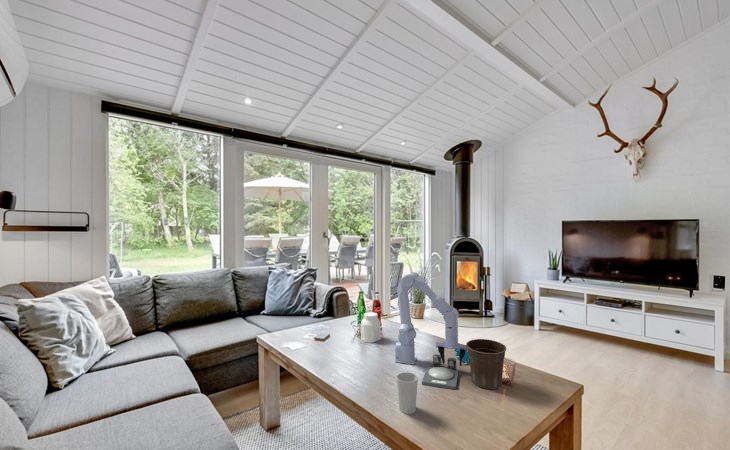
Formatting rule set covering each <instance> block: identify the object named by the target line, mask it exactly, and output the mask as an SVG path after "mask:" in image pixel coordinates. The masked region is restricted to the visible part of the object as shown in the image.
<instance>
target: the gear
mask: <svg viewBox="0 0 730 450" xmlns="http://www.w3.org/2000/svg"><path fill="white" fill-rule="evenodd" d="M453 351H454V352H455V356H456V360H459V361H460V350H459V349H453ZM462 364H466V365H470V358H469V354H468V351H466V352H465V355H464V357H463V359H462Z"/></svg>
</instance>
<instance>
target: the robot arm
mask: <svg viewBox="0 0 730 450" xmlns="http://www.w3.org/2000/svg"><path fill="white" fill-rule="evenodd" d="M411 289H415V290H416V289H417V290H420V291H421V292H422V293H423V294H425V296H427V298H429V300H431V302H432V306H433V307H434V308H435V309H436V310H437V311H438V312H439V313H440V314H441V315H442V316H443V317H442V318H443V320H444V321H445V325H444V326H445V328H444V329H445V330H444V331H445V341H442V342H441V341H436V343H435V348H437V351H438V354H439V355H441V358H442V364H443V365H444V364H445V363H446V359H445V349H450V350H455V349H459V350H460V360H459V367H462V364H463V362H462V361H463V357H464V355H465V352H466V351H468V348H467V346H466V344H463V343H459V325H458V323H459V322H458V319H459V317H460V312H459V311H458V309H457V308H456V307H453V306H452V305H450V304H449V302H447V301H446V298H445V297H442V296H441V295H440V296H439V295H437V294H436V293H435V292H434V290H433V289H432V288H431V287H430V285H428V283H426V281H425V280H424V279H423V277H422V276H420V275H419V273H417V272H415V271H412V272H410V273H407V274H405V275H403V276H402V277H401V278H400V279H399V283H398V286H397V288H396V291H397V293H396V294H397V300H398V301H397V302H398V310H399V321H400V325H399V329H398V336H397V340H398V341H396V343H395V349H394V351H395V355H394V357H395V360H394V362H395V363H400V364H407V365H414V364H416V360H417V359H418V357H416V355H415V354H416V353H415V352H416V351H415V348H416V347H415V346H416V344H415V338H416V337H417V332H416V330H415V327H414V324H413V323H412V317H411V307H410V297H409V291H410V290H411Z"/></svg>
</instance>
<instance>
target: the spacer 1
mask: <svg viewBox="0 0 730 450" xmlns="http://www.w3.org/2000/svg"><path fill="white" fill-rule="evenodd" d="M442 364H443V362H442V358H441V355H440V354H439V353H438V354H436V353H435V354H433V355H432V367H443V365H442Z"/></svg>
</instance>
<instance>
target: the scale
mask: <svg viewBox="0 0 730 450" xmlns="http://www.w3.org/2000/svg"><path fill="white" fill-rule="evenodd" d="M458 378H459V370H458V369H456V370H453V369H448V367H443V366H442V367H433V366H429V365H427V367H426V370H425V372H424V376H423V377H422V380H421V385H422V386H430V387H435V388H441V389H442V388H443V389H447V390H449V389H450V390H457V383H458Z"/></svg>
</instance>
